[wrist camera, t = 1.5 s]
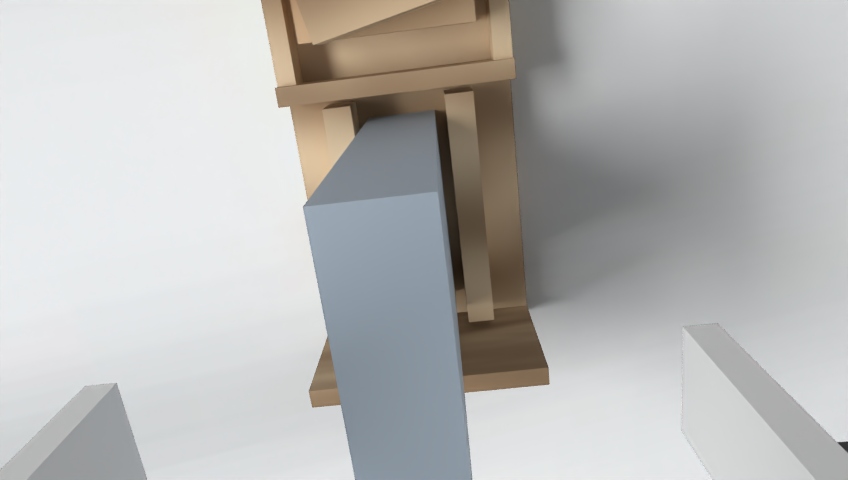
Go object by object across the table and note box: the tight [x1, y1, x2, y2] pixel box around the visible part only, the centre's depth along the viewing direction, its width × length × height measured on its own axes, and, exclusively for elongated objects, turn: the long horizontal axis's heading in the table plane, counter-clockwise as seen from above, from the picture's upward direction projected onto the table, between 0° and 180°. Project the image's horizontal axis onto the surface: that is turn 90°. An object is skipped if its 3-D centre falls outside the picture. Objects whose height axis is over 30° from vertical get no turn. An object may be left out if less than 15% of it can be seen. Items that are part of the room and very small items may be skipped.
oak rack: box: [261, 0, 549, 407], centre depth 25 cm, size 23×10×7 cm, turn 7°
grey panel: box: [303, 110, 472, 480], centre depth 22 cm, size 9×3×15 cm, turn 7°
